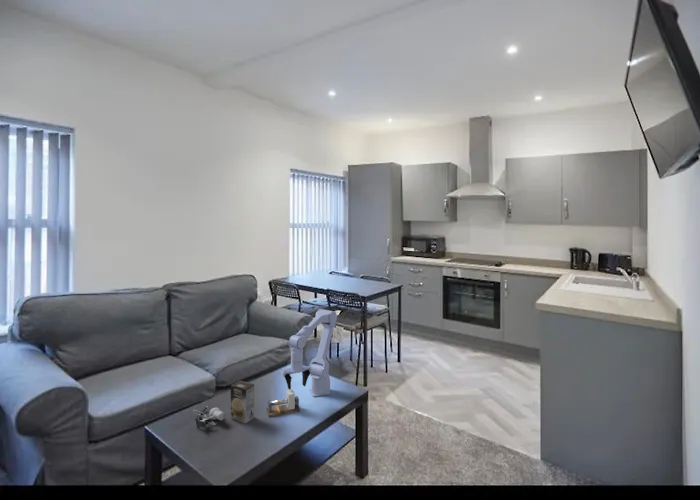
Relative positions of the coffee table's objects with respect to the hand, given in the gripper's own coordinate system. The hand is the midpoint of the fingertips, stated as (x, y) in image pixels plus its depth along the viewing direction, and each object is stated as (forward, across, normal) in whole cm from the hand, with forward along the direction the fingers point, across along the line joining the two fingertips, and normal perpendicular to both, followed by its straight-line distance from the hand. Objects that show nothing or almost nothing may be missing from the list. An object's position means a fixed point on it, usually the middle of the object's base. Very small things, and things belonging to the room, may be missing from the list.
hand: (296, 387), depth 184 cm
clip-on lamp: (+10, +40, -7) cm, 42 cm away
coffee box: (+10, +26, -1) cm, 28 cm away
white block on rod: (+8, +4, +1) cm, 9 cm away
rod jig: (+10, +7, +1) cm, 12 cm away
